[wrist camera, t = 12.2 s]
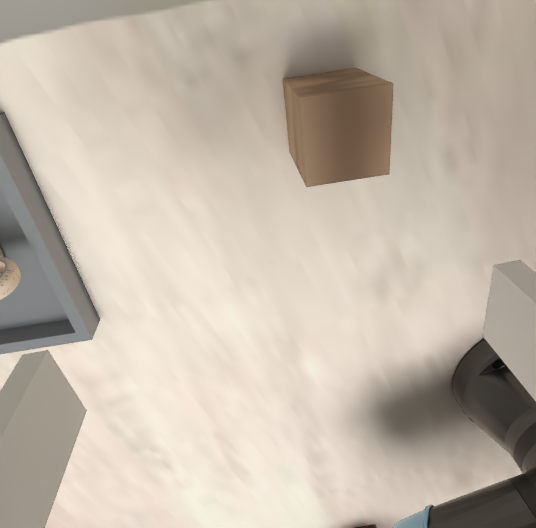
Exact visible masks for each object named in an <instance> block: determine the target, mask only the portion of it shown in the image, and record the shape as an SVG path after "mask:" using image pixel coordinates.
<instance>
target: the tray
mask: <svg viewBox="0 0 536 528" xmlns="http://www.w3.org/2000/svg"><path fill="white" fill-rule="evenodd" d="M0 248H1V250H2V253H3V256H4V257H5V258H9V259H11V260H13V261H14V262H15V263H16V264H17V266H18V268H19V270H20V274H21V278H20V282H19V284H18V286H17V287H16V288H15V289H14V291H13V292H12V293H10V294H9V295H8V296H6V297H5V298H3V299H1V300H0V354H5V353H11V352H17V351H24V350H30V349H36V348H42V347H49V346H55V345H61V344H68V343H74V342H80V341H86V340H92V339H93V336H94V333H95V331H96V328H97V326H98V323H99V321H100V319H99V316H98V314H97V312H96V310H95V308H94V306H93V304H92V301H91V299H90V297H89V295H88V293H87V291H86V288H85V286H84V284H83V282H82V280H81V278H80V275H79V273H78V271H77V269H76V267H75V265H74V262H73V260H72V258H71V256H70V254H69V252H68V249H67V247H66V245H65V243H64V241H63V239H62V236H61V234H60V232H59V230H58V228H57V226H56V224H55V221H54V219H53V217H52V215H51V213H50V211H49V208H48V206H47V204H46V202H45V200H44V198H43V195H42V193H41V191H40V189H39V187H38V185H37V182H36V180H35V178H34V176H33V174H32V172H31V169H30V167H29V165H28V163H27V161H26V159H25V156H24V154H23V152H22V150H21V148H20V146H19V143H18V141H17V139H16V137H15V135H14V133H13V131H12V128H11V126H10V124H9V122H8V120H7V118H6V115H5V113H4V112H3V113H0Z"/></svg>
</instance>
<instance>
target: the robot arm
mask: <svg viewBox="0 0 536 528" xmlns="http://www.w3.org/2000/svg"><path fill="white" fill-rule="evenodd" d="M483 337H484V338H485V339H484V340H483V341H481V342H480V343H479V344H478V345H476V346H475V347H474V348H473V349H472V350H471V351H470V352H469V353H468V354H467V355H466V356H465V357H464V359H463V360H462V361H461V363H460V364H459V366H458V368H457V370H456V372H455V374H454V377H453V383H452V389H453V393H454V396H455V398H456V400H457V401H458V403H459V404H460V406H461V408H462V409H463V411H464V412H465V414H466V415H467V416H468V417H469V418H470V419H471V420H472V421H473V422H475V423H476V424H477V425H478V426H479V427H480V428H481V429H482V430H484V431H485V432H486V433H487V434H488V435H489V436H490V437H491V438H493V439H494V440H495V441H496V442H497V443H498V444H499V445H501V446H502V447H503V448H504V449H505V450H506V451H507V452H509V453H510V455H511V456H512V457H513V459H514V460H515V462H516V463H517V465H518V466H519V468H520V469H521V471H522V472H523V474H521V475H518V476H516V477H513V478H510V479H507V480H504V481H501V482H499V483H496V484H493V485H491V486H488V487H485V488H483V489H480V490H477V491H475V492H472V493H469V494H467V495H464V496H461V497H458V498H456V499H453V500H450V501H448V502H445V503H442V504H440V505H437V506H433V505H428V506H426V508H425V509H424V510H423V511H420V512H418V513H416V514H414V515H411V516H409V517H407V518H405V519H402V520H400V521H399V522H397V523H396V524H395V525H394V527H393V528H536V273H535V272H534V271H533V270H532V269H531V268H529V267H528V266H527V265H526V264H524V263H523V262H522V261H521V260H518V261H512V262H507V263H502V264H497V265H494V267H493V273H492V279H491V286H490V292H489V298H488V305H487V311H486V317H485V323H484V330H483ZM86 411H87V410H86V409H85V407H84V406H83V404H82V402H81V401H80V399H79V398H78V396H77V395H76V393H75V391H74V390H73V388H72V387H71V385H70V384H69V382H68V381H67V379H66V377H65V376H64V374H63V373H62V371H61V370H60V368H59V366H58V365H57V363H56V362H55V360H54V359H53V357H52V355H51V354H50V352H49V351H48V350H45V351H40V352H35V353H30V354H24V355H22V356H21V358H20V360H19V361H18V363H17V365H16V366H15V368H14V370H13V371H12V373H11V375H10V376H9V378H8V379H7V381H6V383H5V384H4V386H3V388H2V389H1V391H0V528H45V525H46V523H47V520H48V517H49V514H50V511H51V509H52V506H53V503H54V500H55V497H56V495H57V492H58V489H59V486H60V484H61V481H62V478H63V475H64V472H65V470H66V467H67V464H68V461H69V458H70V456H71V453H72V450H73V447H74V444H75V442H76V439H77V436H78V433H79V430H80V428H81V425H82V422H83V419H84V416H85V414H86Z"/></svg>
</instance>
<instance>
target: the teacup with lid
mask: <svg viewBox="0 0 536 528" xmlns="http://www.w3.org/2000/svg"><path fill="white" fill-rule="evenodd" d="M20 278H21V274H20V270H19V268H18V266H17V264H16V263H15V262H14V261H13V260H11V259H9V258H5V257H4V256H3V253H2V250H1V248H0V300H1V299H3V298H5V297H6V296H8V295H9V294H10V293H12V292H13V291H14V289H15V288H16V287H17V286H18V284H19V282H20Z"/></svg>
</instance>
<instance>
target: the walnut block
mask: <svg viewBox="0 0 536 528" xmlns="http://www.w3.org/2000/svg"><path fill="white" fill-rule="evenodd" d="M283 88H284V98H285V109H286V119H287V130H288V140H289V151H290V154H291V156H292V158H293V160H294V162H295V164H296V166H297V168H298V170H299V173H300V175H301V177H302V179H303V181H304V183H305V185H306V187H310V186H316V185H323V184H329V183H336V182H342V181H348V180H355V179H361V178H368V177H374V176H381V175H387V174H389V171H390V148H391V125H392V102H393V83H391V82H388V81H386V80H383V79H381V78H379V77H376V76H374V75H371V74H369V73H367V72H364V71H362V70H360V69H357V68H352V69H346V70H339V71H332V72H326V73H319V74H312V75H306V76H299V77H293V78H286V79H283Z"/></svg>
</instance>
